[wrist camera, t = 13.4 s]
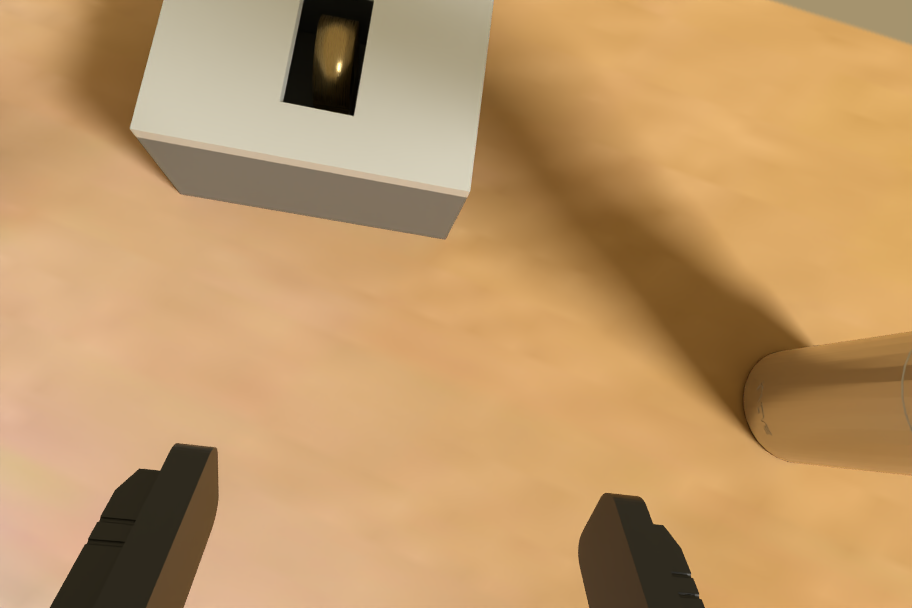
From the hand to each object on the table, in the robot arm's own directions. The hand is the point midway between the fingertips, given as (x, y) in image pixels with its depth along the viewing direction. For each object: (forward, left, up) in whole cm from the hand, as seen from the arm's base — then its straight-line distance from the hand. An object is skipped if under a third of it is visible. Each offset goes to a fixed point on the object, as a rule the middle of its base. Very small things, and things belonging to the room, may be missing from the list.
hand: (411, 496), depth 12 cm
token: (+2, -26, -30) cm, 40 cm away
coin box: (+2, -25, -31) cm, 39 cm away
